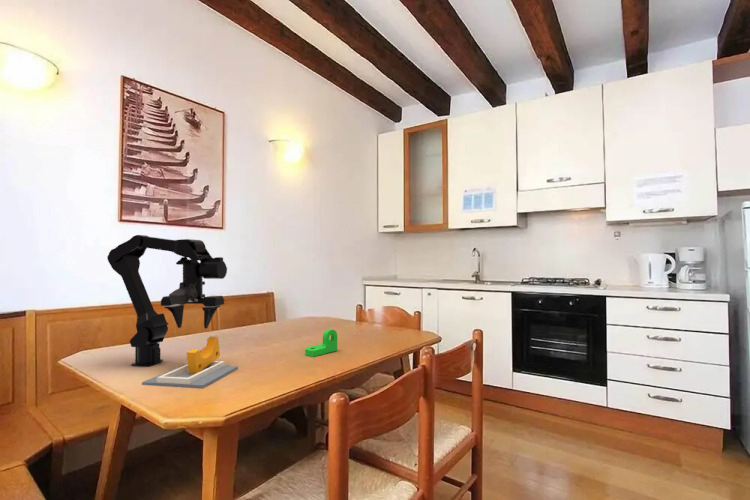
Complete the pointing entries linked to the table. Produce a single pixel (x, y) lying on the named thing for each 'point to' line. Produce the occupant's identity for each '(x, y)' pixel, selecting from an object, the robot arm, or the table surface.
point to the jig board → (192, 376)
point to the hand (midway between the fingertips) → (192, 328)
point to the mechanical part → (324, 344)
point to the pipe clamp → (203, 356)
